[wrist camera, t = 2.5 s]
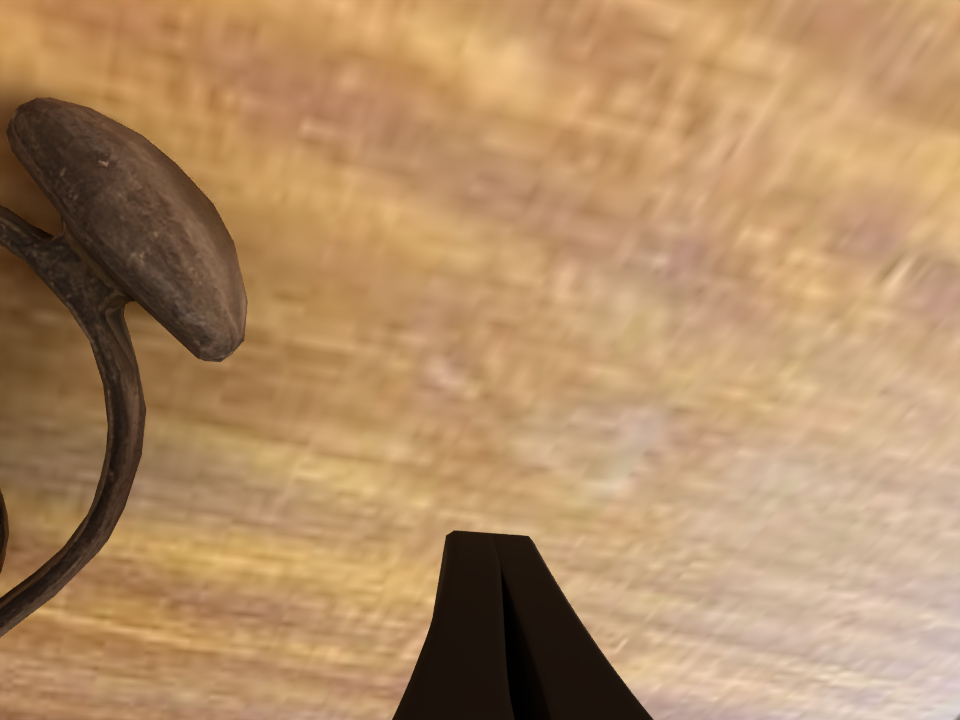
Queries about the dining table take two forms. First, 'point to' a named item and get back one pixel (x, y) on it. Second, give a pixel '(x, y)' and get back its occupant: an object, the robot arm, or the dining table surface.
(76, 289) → the mechanical counter
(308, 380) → the dining table surface
